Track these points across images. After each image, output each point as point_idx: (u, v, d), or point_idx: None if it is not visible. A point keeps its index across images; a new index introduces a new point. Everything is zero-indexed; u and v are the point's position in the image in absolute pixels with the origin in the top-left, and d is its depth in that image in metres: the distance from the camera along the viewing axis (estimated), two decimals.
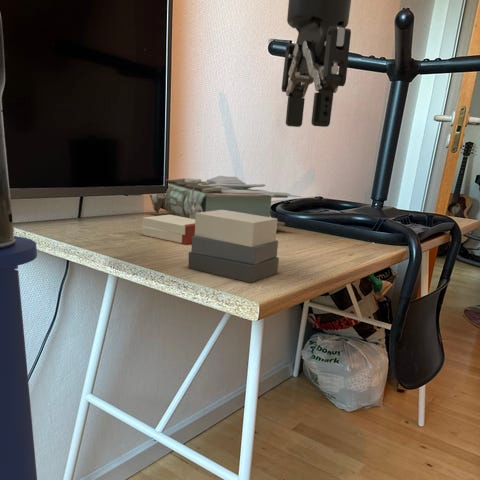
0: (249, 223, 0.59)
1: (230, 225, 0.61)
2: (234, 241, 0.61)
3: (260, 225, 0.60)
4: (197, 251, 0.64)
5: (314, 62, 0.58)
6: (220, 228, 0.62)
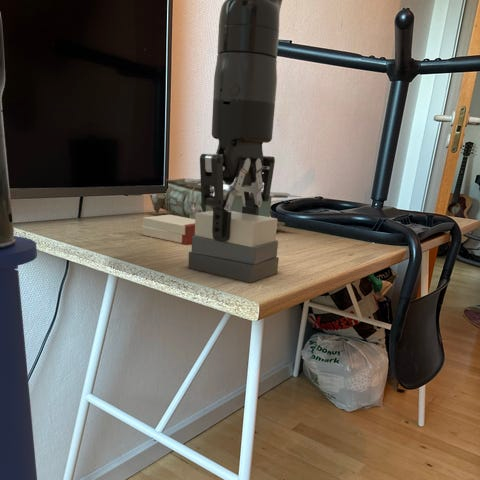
0: (249, 223, 0.59)
1: (230, 225, 0.61)
2: (234, 241, 0.61)
3: (260, 225, 0.60)
4: (197, 251, 0.64)
5: None
6: None
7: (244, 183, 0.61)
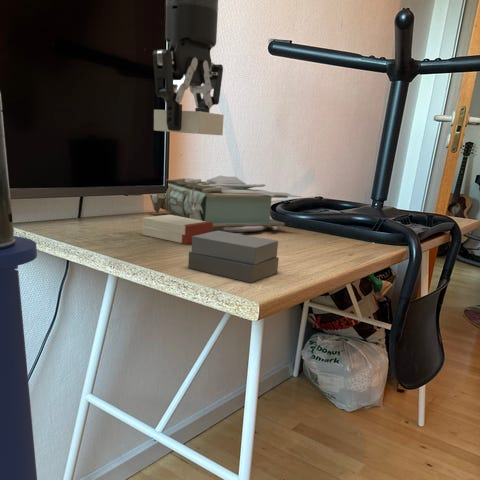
0: (196, 112, 0.71)
1: (182, 116, 0.72)
2: (185, 130, 0.73)
3: (206, 115, 0.72)
4: (197, 251, 0.64)
5: None
6: None
7: (193, 82, 0.73)
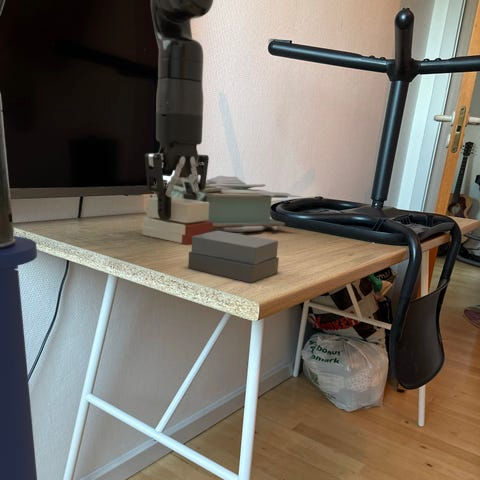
0: (184, 205, 0.79)
1: (171, 207, 0.81)
2: (174, 219, 0.81)
3: (193, 206, 0.80)
4: (197, 251, 0.64)
5: None
6: None
7: (182, 175, 0.81)
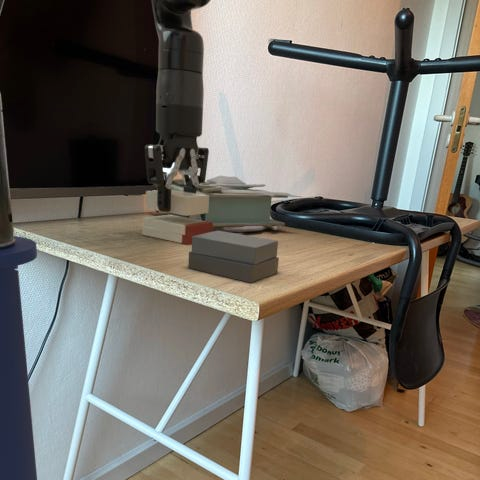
0: (184, 197, 0.79)
1: (171, 199, 0.80)
2: (174, 211, 0.81)
3: (193, 199, 0.80)
4: (197, 251, 0.64)
5: None
6: None
7: (181, 167, 0.81)
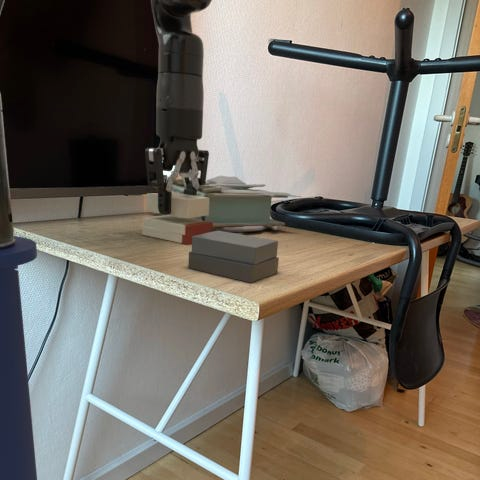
0: (184, 200, 0.79)
1: (171, 202, 0.80)
2: (174, 214, 0.81)
3: (193, 201, 0.80)
4: (197, 251, 0.64)
5: None
6: None
7: (182, 170, 0.81)
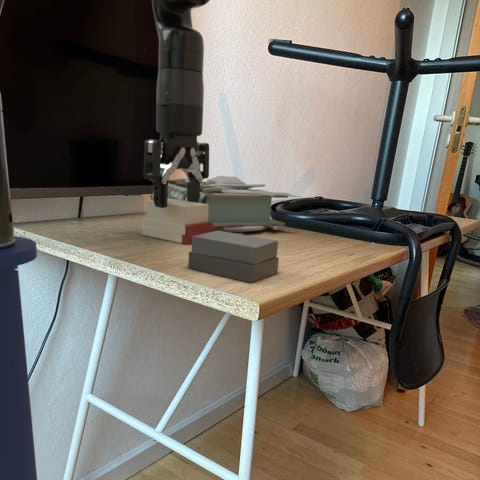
0: (183, 207, 0.79)
1: (170, 209, 0.81)
2: (174, 221, 0.81)
3: (192, 208, 0.80)
4: (197, 251, 0.64)
5: None
6: (164, 212, 0.82)
7: (182, 166, 0.81)
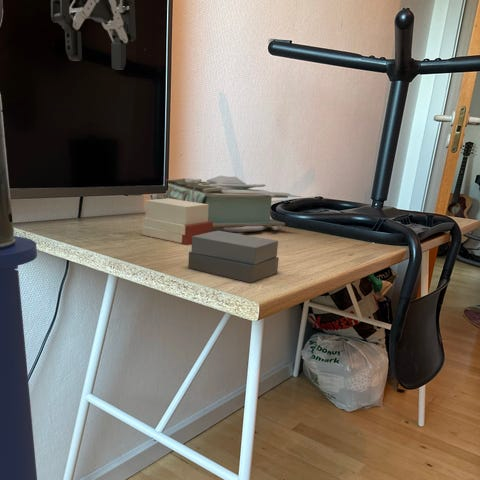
0: (183, 207, 0.79)
1: (170, 209, 0.81)
2: (174, 221, 0.81)
3: (192, 208, 0.80)
4: (197, 251, 0.64)
5: (70, 7, 0.71)
6: (164, 212, 0.82)
7: (99, 16, 0.72)
